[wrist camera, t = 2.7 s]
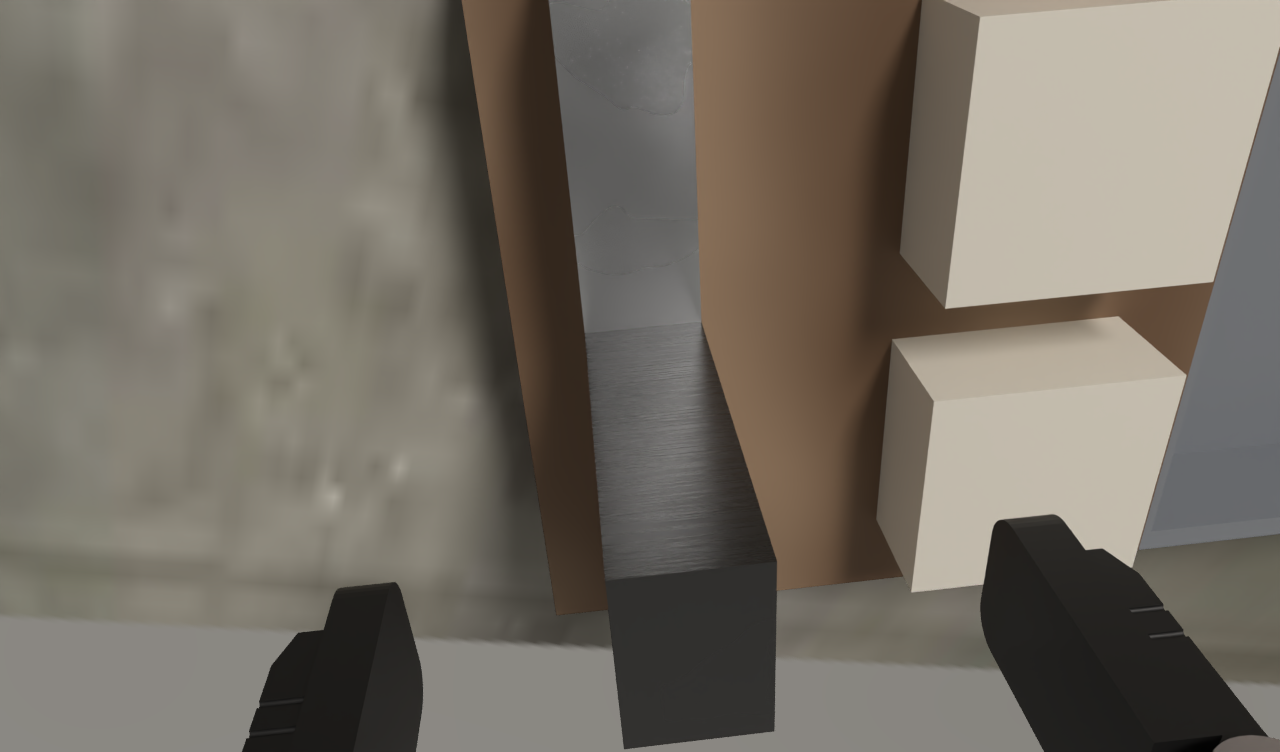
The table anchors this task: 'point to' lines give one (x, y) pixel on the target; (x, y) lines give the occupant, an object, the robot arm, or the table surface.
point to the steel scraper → (660, 388)
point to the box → (1232, 378)
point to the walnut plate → (755, 268)
